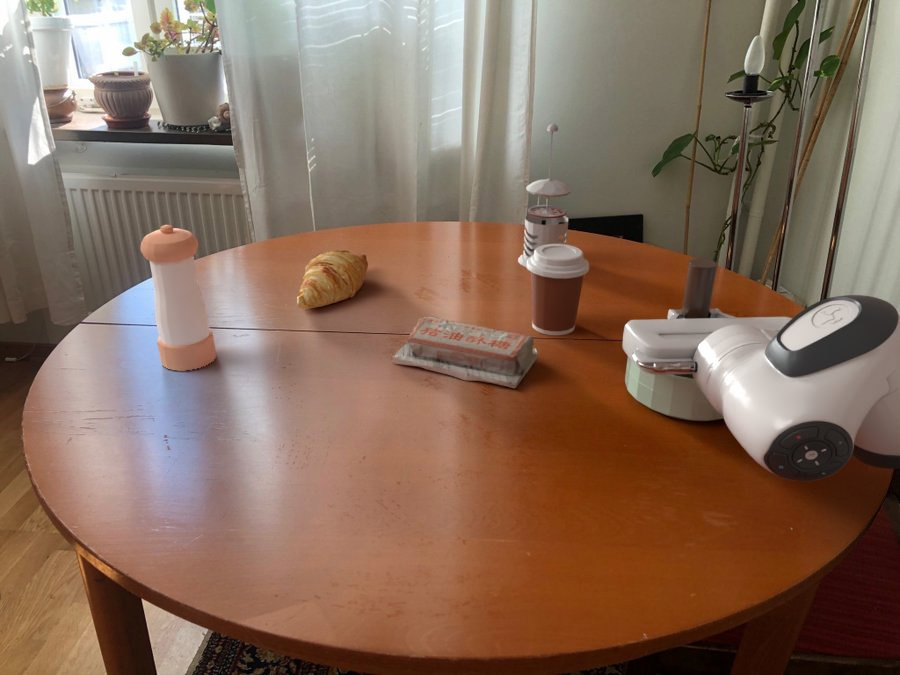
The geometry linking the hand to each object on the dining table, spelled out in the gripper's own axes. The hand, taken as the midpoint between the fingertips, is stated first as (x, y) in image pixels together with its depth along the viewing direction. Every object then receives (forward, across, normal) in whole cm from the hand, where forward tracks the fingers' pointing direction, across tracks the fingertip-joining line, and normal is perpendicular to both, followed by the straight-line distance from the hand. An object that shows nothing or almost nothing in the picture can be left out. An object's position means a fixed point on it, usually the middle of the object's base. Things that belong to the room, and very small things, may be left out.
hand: (692, 314), depth 91 cm
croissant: (+36, -48, -11) cm, 60 cm away
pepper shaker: (+12, -65, -11) cm, 67 cm away
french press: (+49, -9, -11) cm, 51 cm away
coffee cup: (+20, -13, -11) cm, 26 cm away
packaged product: (+9, -27, -11) cm, 31 cm away
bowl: (-1, 0, -11) cm, 11 cm away
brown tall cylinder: (-1, 0, -9) cm, 9 cm away
